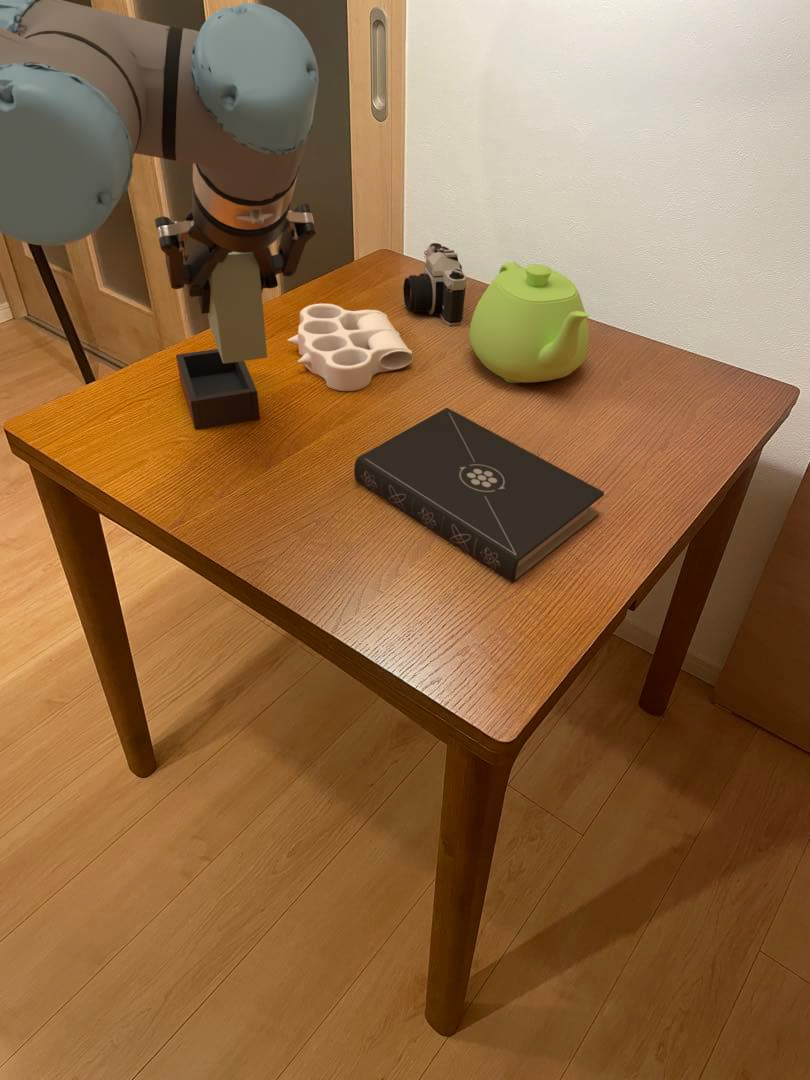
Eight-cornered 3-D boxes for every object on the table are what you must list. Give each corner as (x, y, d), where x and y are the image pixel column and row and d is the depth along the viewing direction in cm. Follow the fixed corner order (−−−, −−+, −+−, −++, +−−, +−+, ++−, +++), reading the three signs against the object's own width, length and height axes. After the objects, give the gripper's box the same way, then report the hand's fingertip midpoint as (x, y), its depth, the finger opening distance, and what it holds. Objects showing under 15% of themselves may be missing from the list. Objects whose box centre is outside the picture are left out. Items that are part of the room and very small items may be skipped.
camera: (392, 290, 121) (394, 233, 115) (440, 285, 123) (445, 228, 117) (418, 336, 113) (422, 277, 106) (469, 329, 115) (476, 271, 108)
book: (353, 481, 86) (353, 459, 84) (445, 428, 94) (446, 407, 92) (511, 584, 75) (515, 561, 73) (599, 514, 83) (605, 492, 81)
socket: (195, 429, 92) (190, 401, 90) (180, 381, 100) (175, 354, 97) (260, 418, 94) (257, 390, 92) (240, 372, 102) (237, 345, 99)
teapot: (619, 403, 100) (644, 304, 91) (510, 420, 96) (525, 319, 87) (542, 323, 115) (557, 232, 106) (445, 335, 111) (452, 242, 102)
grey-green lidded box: (222, 364, 80) (207, 251, 72) (209, 327, 86) (194, 219, 78) (268, 357, 81) (258, 246, 74) (251, 322, 87) (241, 215, 79)
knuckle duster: (420, 381, 102) (308, 398, 98) (378, 318, 114) (277, 330, 111) (421, 358, 100) (307, 373, 96) (378, 296, 112) (276, 308, 108)
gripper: (135, 245, 59) (149, 343, 81) (362, 223, 64) (316, 322, 86) (114, 146, 59) (134, 272, 82) (342, 132, 64) (301, 254, 86)
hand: (227, 297), depth 84 cm, fingers closed on grey-green lidded box, 4 cm apart
